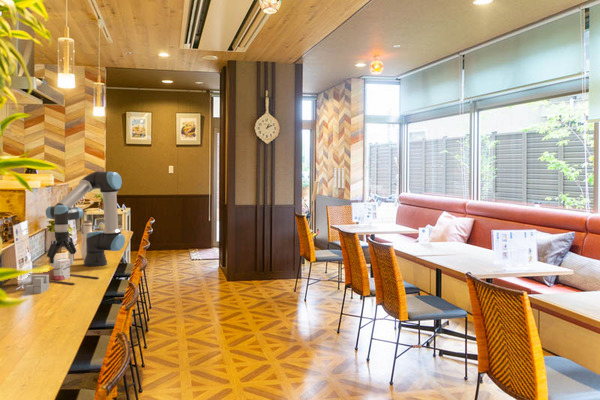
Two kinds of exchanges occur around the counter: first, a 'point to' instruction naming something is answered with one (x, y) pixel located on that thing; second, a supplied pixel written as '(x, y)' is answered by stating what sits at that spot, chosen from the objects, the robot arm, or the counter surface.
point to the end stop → (50, 273)
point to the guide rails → (73, 275)
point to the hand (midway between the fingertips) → (62, 266)
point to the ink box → (62, 269)
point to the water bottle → (84, 230)
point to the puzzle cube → (37, 284)
